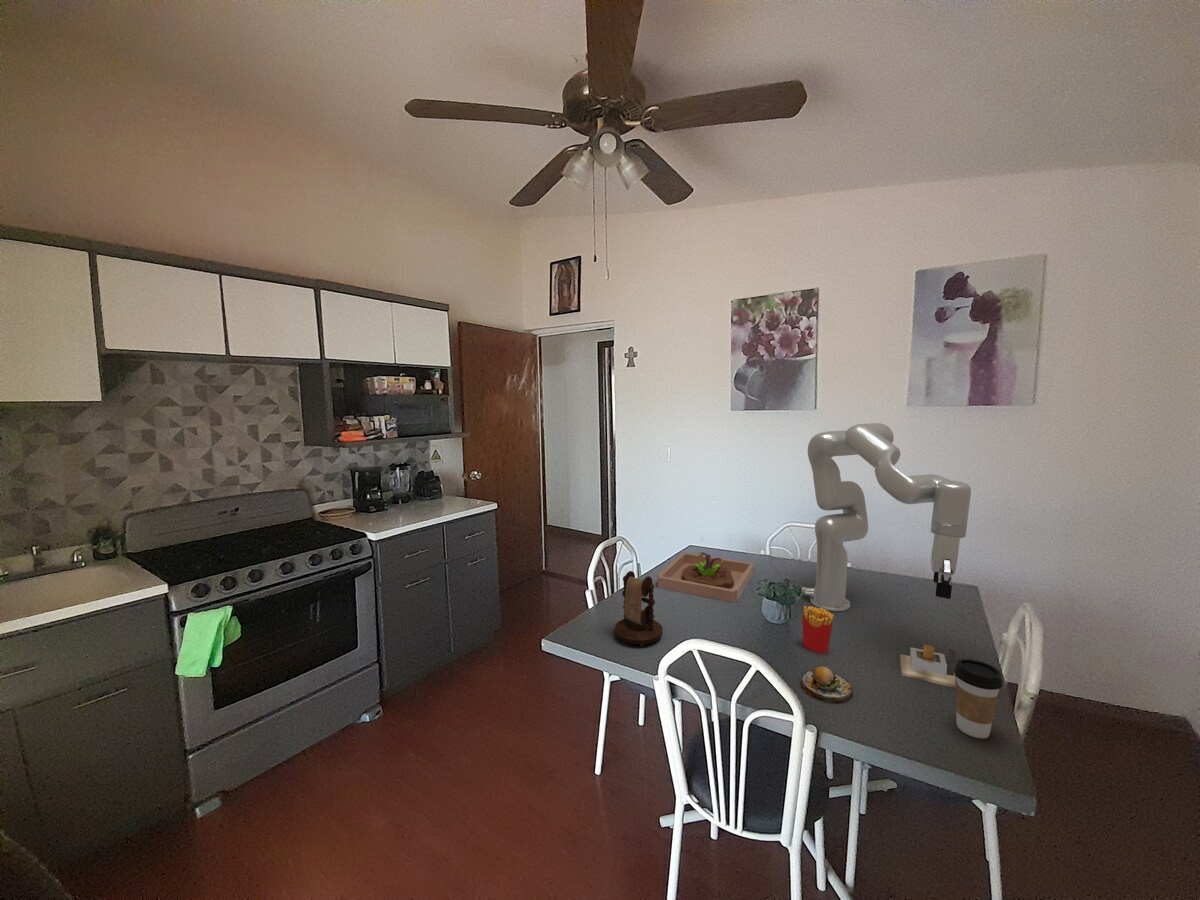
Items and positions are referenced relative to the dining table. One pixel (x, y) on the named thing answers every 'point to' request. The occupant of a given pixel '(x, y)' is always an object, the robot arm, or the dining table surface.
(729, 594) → the plant saucer
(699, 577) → the plant
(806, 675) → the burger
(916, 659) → the link
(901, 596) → the dining table surface
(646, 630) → the scroll
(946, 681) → the keeper
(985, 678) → the coffee cup
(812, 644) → the french fries
